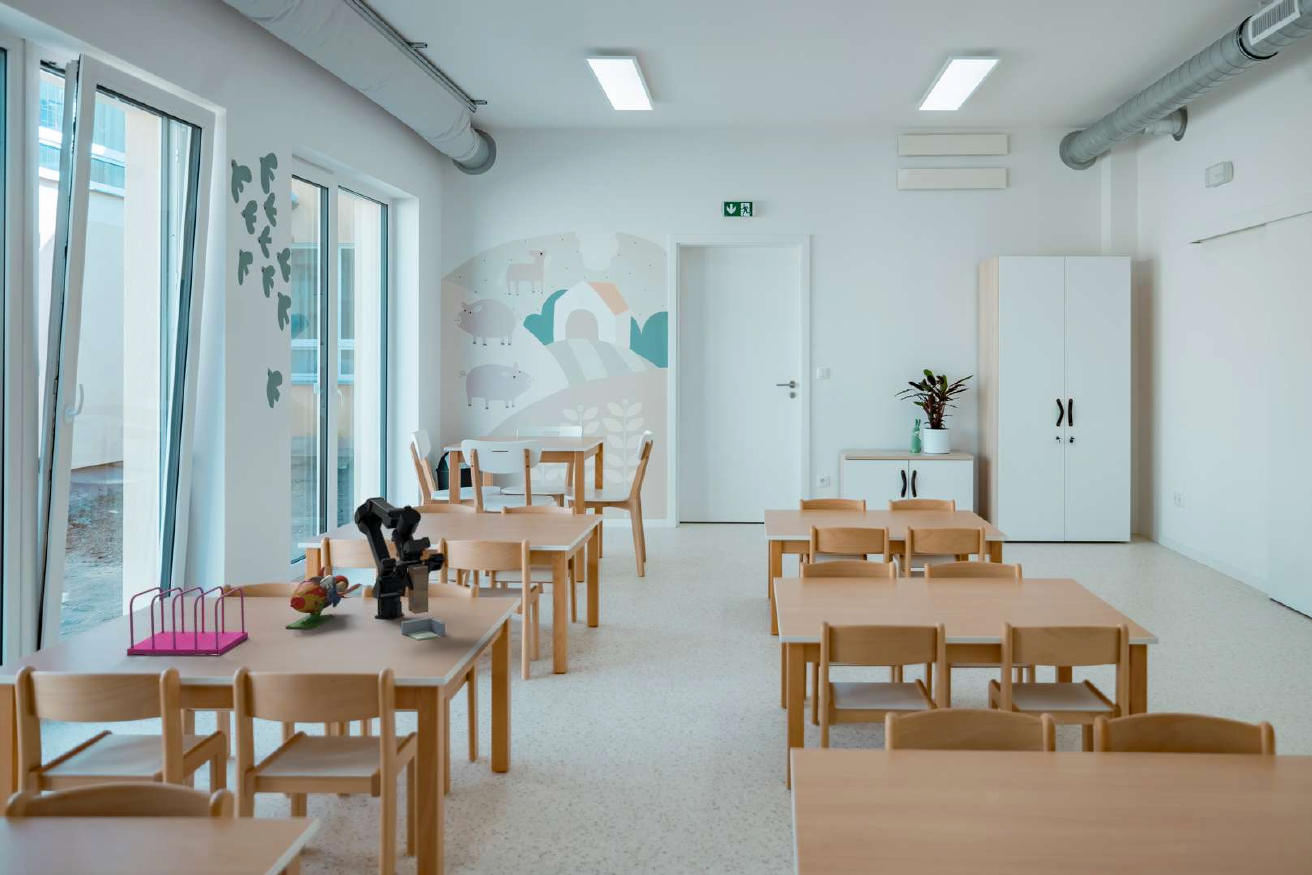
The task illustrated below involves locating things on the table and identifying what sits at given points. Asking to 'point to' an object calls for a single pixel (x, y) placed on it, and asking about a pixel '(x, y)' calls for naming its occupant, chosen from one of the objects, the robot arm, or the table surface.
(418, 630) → the grey corner fixture
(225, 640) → the file sorter
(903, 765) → the table surface
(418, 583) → the walnut block
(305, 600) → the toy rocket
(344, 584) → the kendama
